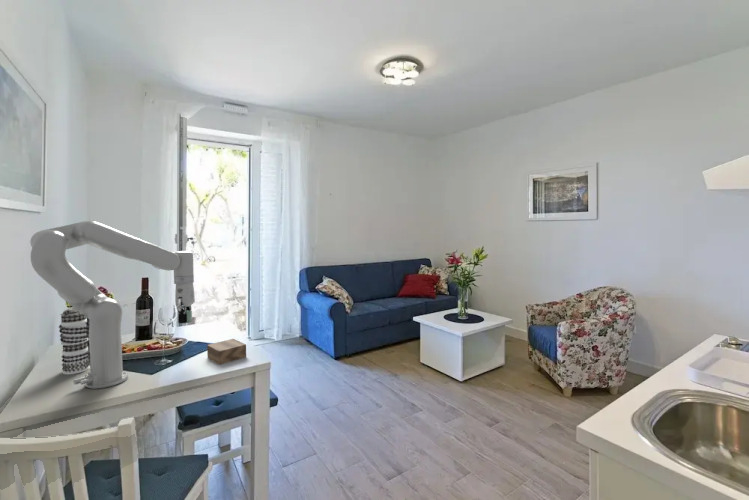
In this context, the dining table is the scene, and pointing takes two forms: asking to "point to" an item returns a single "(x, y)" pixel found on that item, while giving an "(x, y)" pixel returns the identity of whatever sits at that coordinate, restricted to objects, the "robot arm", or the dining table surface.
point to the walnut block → (226, 351)
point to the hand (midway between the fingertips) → (185, 320)
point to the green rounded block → (189, 316)
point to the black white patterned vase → (74, 341)
